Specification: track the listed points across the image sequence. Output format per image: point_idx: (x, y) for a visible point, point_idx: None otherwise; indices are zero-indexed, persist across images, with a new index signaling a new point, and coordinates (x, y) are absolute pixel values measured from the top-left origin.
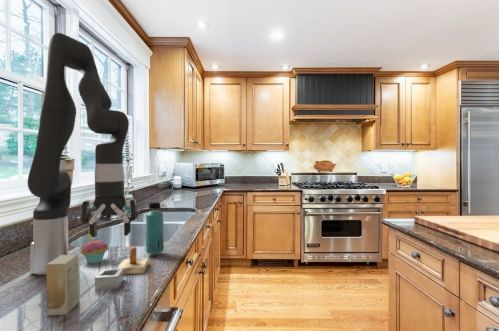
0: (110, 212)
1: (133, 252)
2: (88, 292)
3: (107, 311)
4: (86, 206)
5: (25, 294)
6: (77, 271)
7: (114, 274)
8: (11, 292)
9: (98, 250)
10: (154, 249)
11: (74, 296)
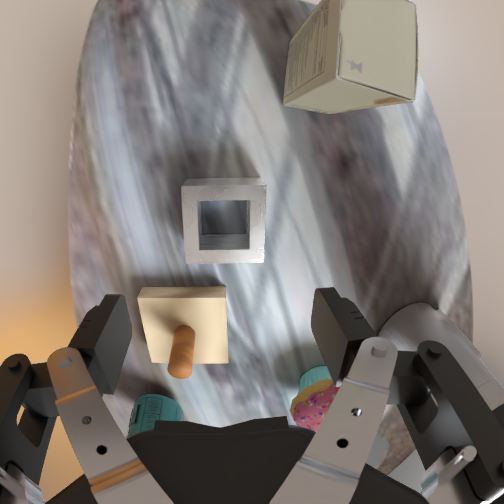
0: (205, 448)
1: (175, 353)
2: (276, 165)
3: (179, 38)
4: (482, 450)
5: (429, 194)
6: (310, 79)
7: (215, 243)
8: (454, 213)
9: (313, 392)
10: (150, 403)
11: (291, 72)
